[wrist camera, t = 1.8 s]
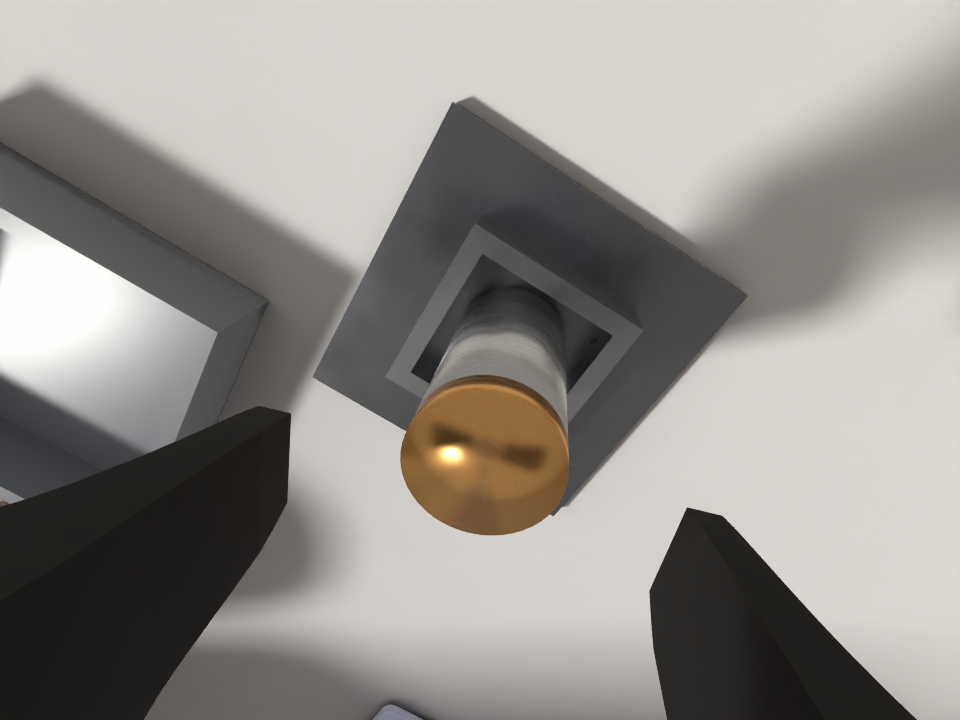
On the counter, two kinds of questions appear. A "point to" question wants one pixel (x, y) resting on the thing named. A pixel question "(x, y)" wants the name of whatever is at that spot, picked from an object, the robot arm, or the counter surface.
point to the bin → (102, 335)
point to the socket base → (530, 267)
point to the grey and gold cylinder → (494, 420)
